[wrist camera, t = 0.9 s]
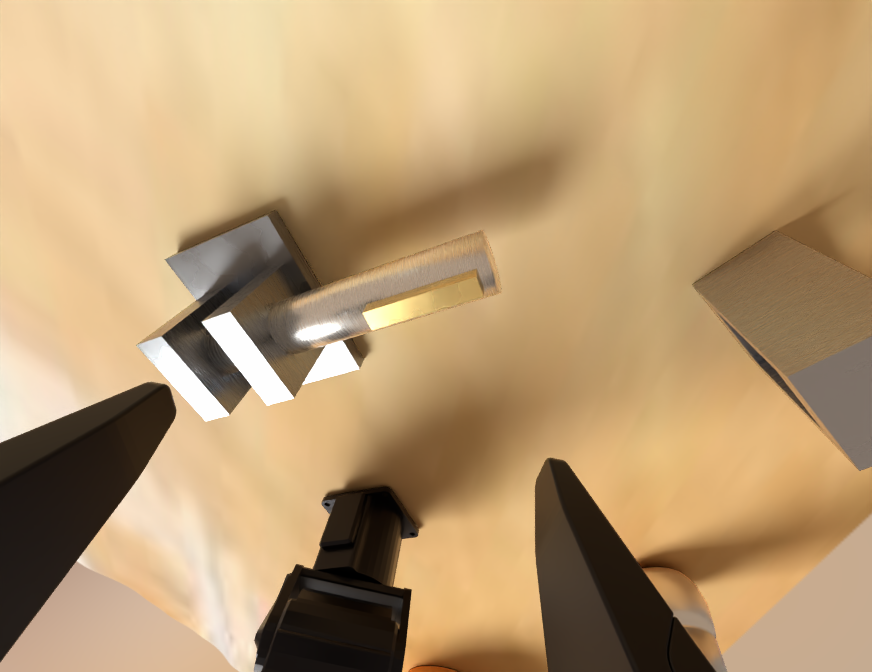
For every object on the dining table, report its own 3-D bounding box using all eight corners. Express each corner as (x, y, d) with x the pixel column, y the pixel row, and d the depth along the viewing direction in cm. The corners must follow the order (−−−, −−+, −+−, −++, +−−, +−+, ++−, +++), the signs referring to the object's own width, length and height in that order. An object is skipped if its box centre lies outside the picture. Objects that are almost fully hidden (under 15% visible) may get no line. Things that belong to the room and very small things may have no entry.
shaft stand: (517, 316, 22) (527, 387, 17) (275, 384, 27) (225, 455, 22) (457, 131, 18) (444, 151, 12) (177, 252, 22) (83, 303, 17)
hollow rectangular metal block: (833, 317, 20) (991, 423, 14) (751, 359, 22) (859, 470, 16) (775, 230, 18) (930, 307, 12) (692, 284, 20) (787, 377, 14)
